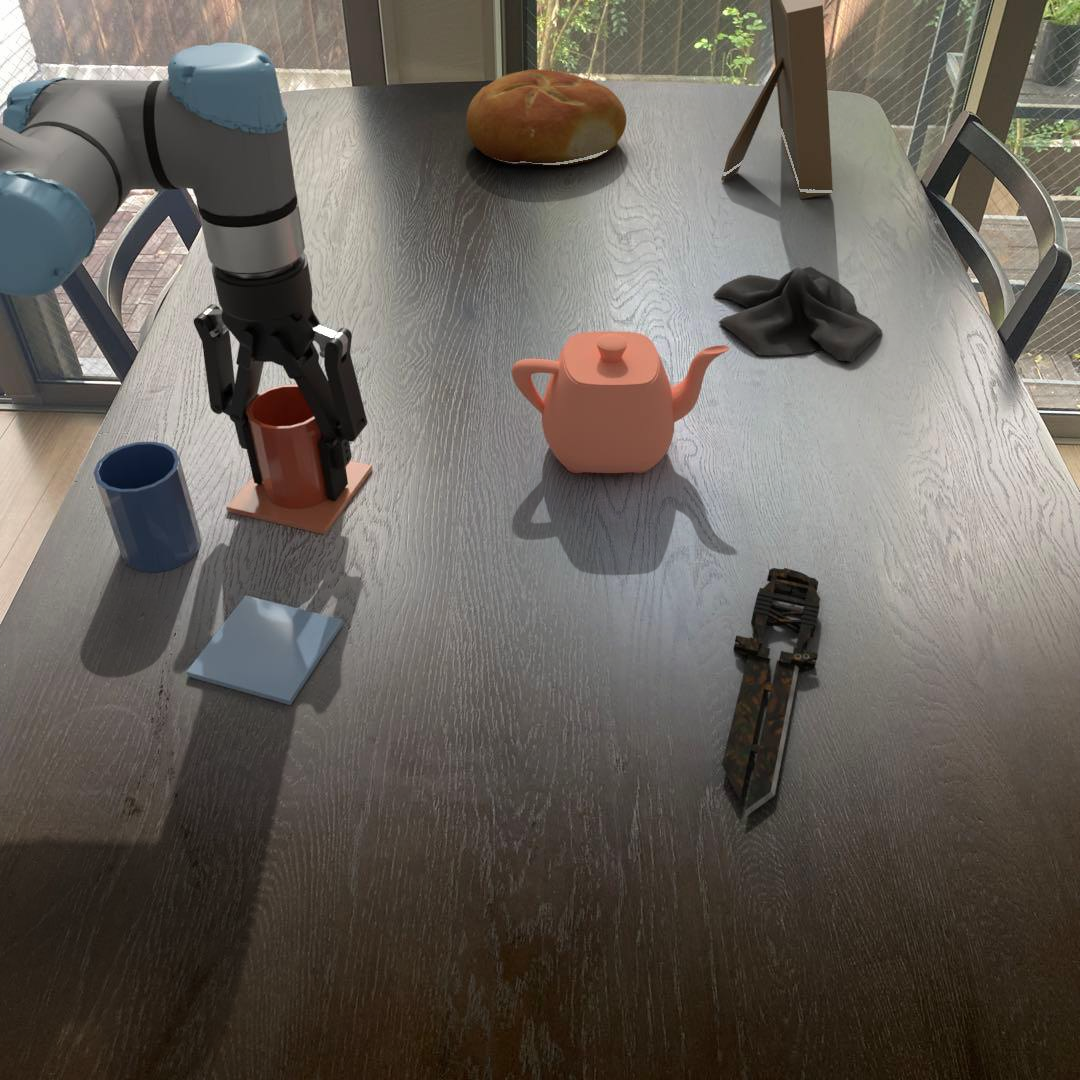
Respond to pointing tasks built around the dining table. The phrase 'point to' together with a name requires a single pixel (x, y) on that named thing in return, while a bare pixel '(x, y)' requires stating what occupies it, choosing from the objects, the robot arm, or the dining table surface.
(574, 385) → the teapot
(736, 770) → the knife
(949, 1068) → the dining table surface
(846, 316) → the cloth
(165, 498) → the blue cup
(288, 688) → the blue pad
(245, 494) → the red pad
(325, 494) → the red cup
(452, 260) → the dining table surface
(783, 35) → the photo frame
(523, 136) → the bread
